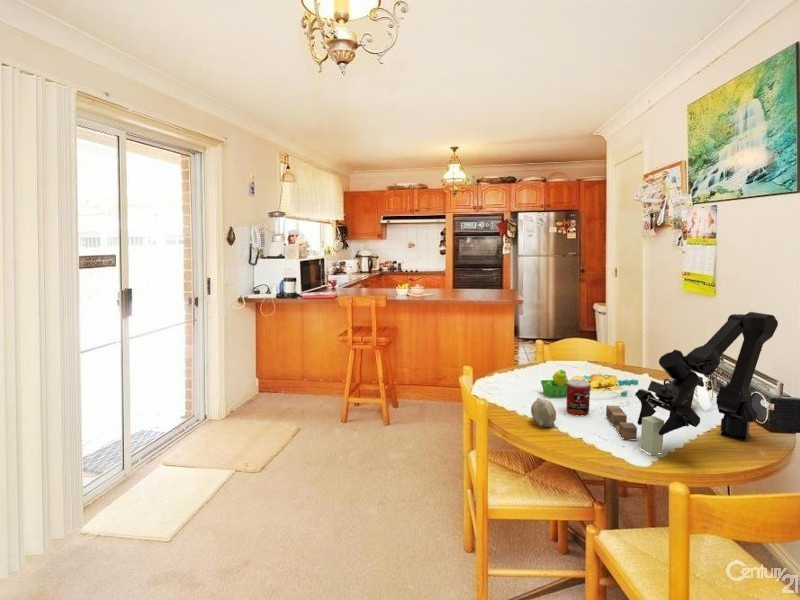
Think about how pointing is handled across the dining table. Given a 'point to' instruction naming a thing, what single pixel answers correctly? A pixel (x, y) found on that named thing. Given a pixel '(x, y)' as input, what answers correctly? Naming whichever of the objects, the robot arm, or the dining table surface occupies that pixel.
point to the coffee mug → (689, 395)
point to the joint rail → (621, 422)
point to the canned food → (578, 397)
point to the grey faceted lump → (543, 412)
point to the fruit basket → (556, 385)
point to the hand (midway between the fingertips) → (648, 429)
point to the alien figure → (620, 383)
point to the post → (651, 435)
